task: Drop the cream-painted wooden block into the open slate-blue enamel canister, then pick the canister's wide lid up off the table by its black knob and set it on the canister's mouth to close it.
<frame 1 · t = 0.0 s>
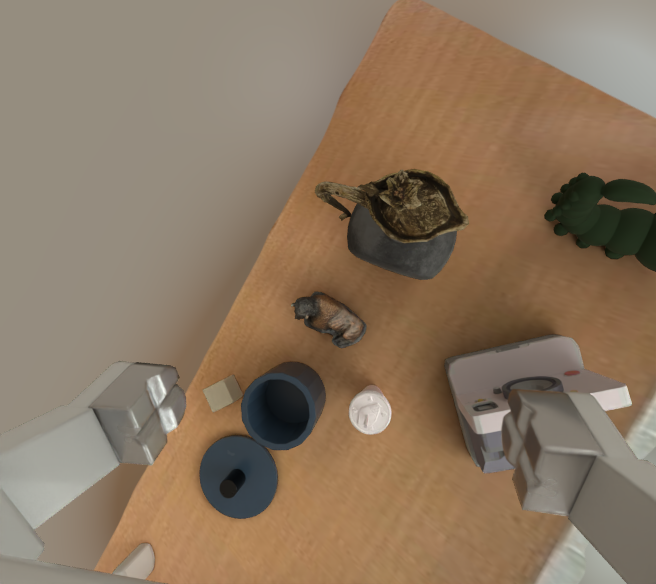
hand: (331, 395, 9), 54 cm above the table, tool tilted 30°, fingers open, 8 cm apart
lid: (238, 475, 66), point 1 cm above the table
smoothie: (372, 395, 63), on the table
toy figurine: (609, 236, 57), on the table
eye dropper bottle: (147, 555, 69), on the table
canister: (293, 394, 65), on the table
instant camera: (513, 397, 59), on the table
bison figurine: (334, 318, 64), on the table
pitcher: (389, 240, 62), on the table
block: (228, 389, 67), on the table
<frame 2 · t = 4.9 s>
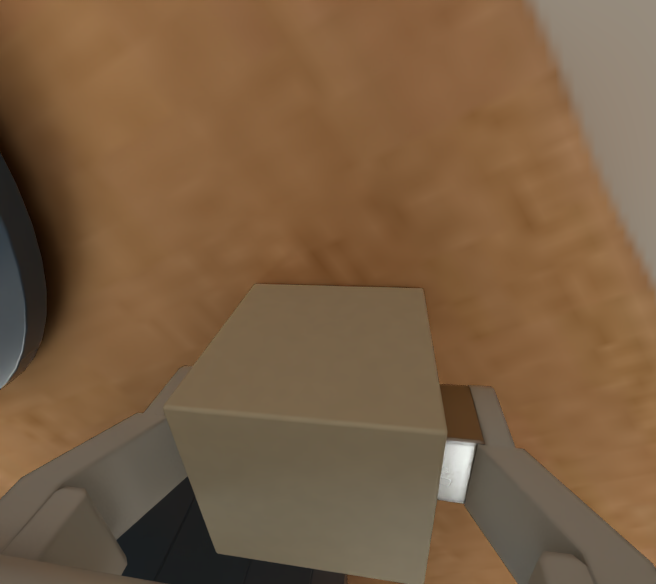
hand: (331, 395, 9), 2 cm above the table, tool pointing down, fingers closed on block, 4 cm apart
canister: (218, 537, 16), on the table
block: (338, 353, 10), on the table, touching gripper
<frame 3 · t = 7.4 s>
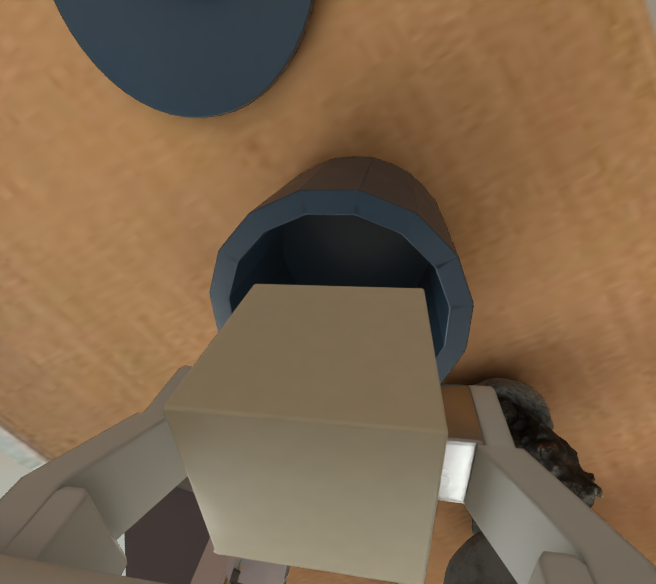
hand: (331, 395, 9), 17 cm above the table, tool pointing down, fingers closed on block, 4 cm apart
canister: (354, 247, 25), on the table
instant camera: (226, 505, 43), on the table
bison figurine: (463, 396, 29), on the table
pitcher: (526, 515, 35), on the table
block: (338, 353, 10), point 15 cm above the table, touching gripper
when the fingers open (9 cm above the table, at t = 10.6 s): block stays where it is, resting on canister.
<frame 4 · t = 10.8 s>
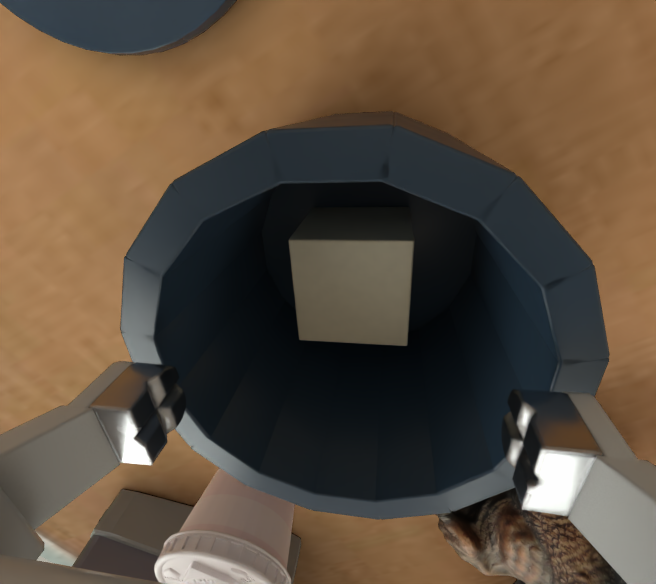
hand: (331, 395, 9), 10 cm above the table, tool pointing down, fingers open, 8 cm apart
smoothie: (278, 421, 25), on the table
canister: (364, 248, 17), on the table
instant camera: (208, 558, 36), on the table
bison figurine: (508, 443, 22), on the table
block: (360, 252, 17), resting on canister
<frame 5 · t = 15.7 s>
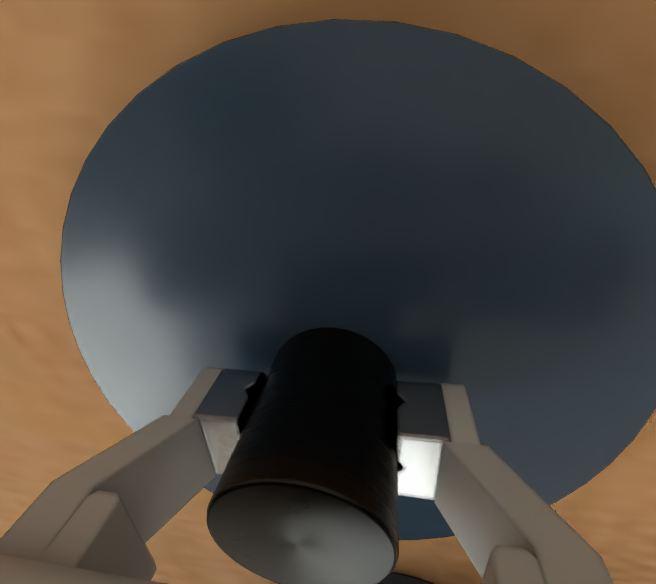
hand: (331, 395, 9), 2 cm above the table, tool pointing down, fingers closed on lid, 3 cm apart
lid: (337, 360, 10), point 1 cm above the table, touching gripper
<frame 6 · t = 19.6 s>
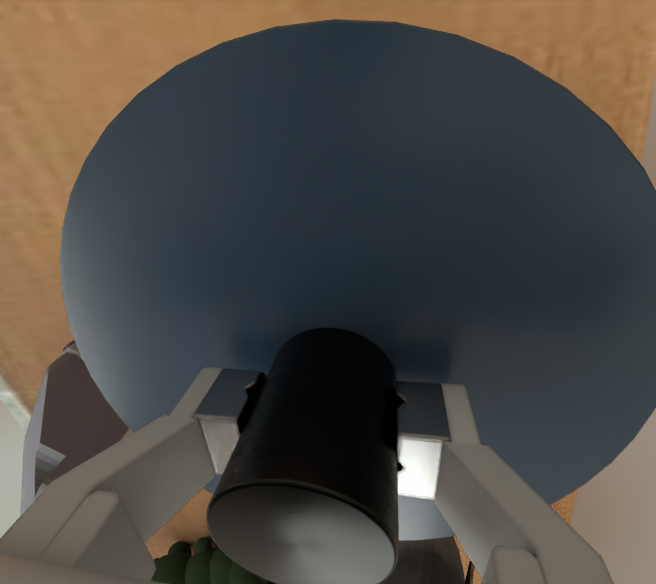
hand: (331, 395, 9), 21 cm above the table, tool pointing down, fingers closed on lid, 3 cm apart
lid: (337, 360, 10), point 20 cm above the table, touching gripper
toy figurine: (218, 542, 58), on the table
instant camera: (136, 407, 44), on the table
pitcher: (396, 479, 43), on the table
when the fingers open (11 cm above the table, at t = 23.7 s): lid stays where it is, resting on canister.
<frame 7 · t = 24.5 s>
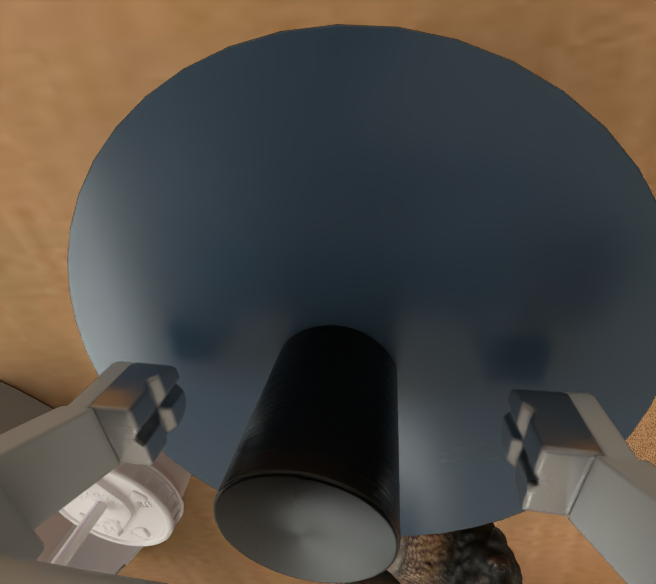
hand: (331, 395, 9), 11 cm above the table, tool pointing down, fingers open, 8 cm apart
lid: (339, 357, 10), point 9 cm above the table, touching canister
smoothie: (205, 365, 24), on the table
instant camera: (66, 473, 34), on the table
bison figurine: (401, 447, 25), on the table
pitcher: (403, 570, 33), on the table
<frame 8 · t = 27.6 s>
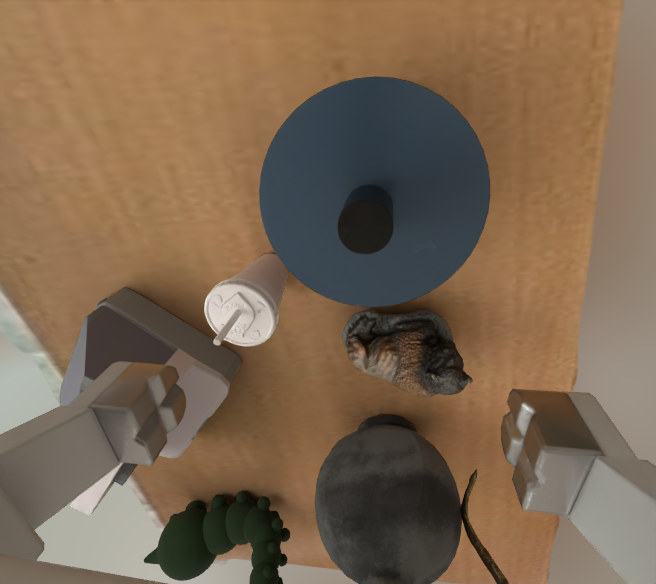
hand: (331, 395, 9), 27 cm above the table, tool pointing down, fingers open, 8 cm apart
lid: (369, 206, 24), point 9 cm above the table, touching canister
smoothie: (272, 268, 38), on the table
toy figurine: (232, 500, 62), on the table
instant camera: (160, 365, 48), on the table
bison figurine: (397, 322, 39), on the table
pitcher: (399, 430, 47), on the table
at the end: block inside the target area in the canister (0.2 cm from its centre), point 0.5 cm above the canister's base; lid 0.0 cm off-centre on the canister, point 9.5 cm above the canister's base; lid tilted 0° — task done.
